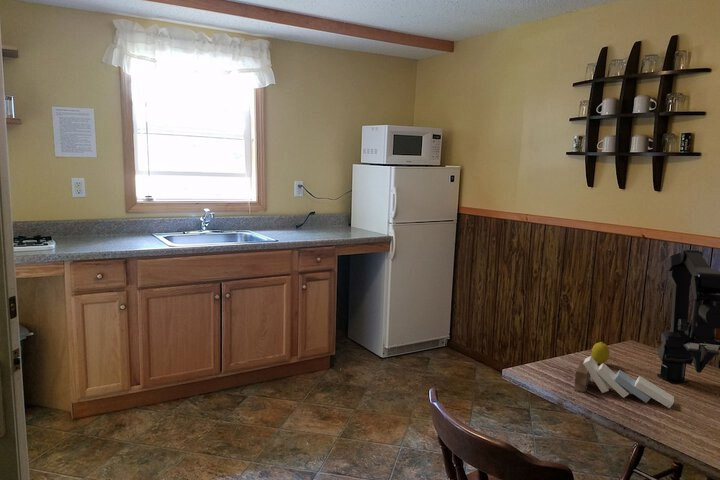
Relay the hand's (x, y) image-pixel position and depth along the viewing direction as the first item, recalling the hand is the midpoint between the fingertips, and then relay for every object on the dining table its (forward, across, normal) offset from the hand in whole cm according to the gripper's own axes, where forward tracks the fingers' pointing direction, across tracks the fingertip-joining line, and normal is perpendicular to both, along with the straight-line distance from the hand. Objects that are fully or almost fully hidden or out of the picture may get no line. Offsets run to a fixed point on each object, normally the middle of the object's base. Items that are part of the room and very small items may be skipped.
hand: (698, 372), depth 142 cm
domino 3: (+10, +5, -2) cm, 12 cm away
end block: (+11, +28, -7) cm, 31 cm away
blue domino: (+10, +11, -3) cm, 15 cm away
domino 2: (+11, +16, -4) cm, 20 cm away
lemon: (+11, +21, -28) cm, 37 cm away
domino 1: (+11, +22, -6) cm, 25 cm away
